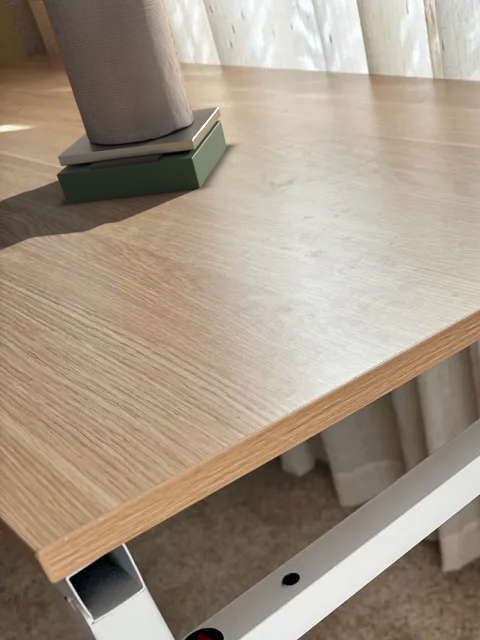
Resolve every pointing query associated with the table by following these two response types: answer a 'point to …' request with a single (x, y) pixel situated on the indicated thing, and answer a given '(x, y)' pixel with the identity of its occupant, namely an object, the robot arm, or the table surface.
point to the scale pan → (143, 142)
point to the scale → (143, 172)
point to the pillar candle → (121, 67)
